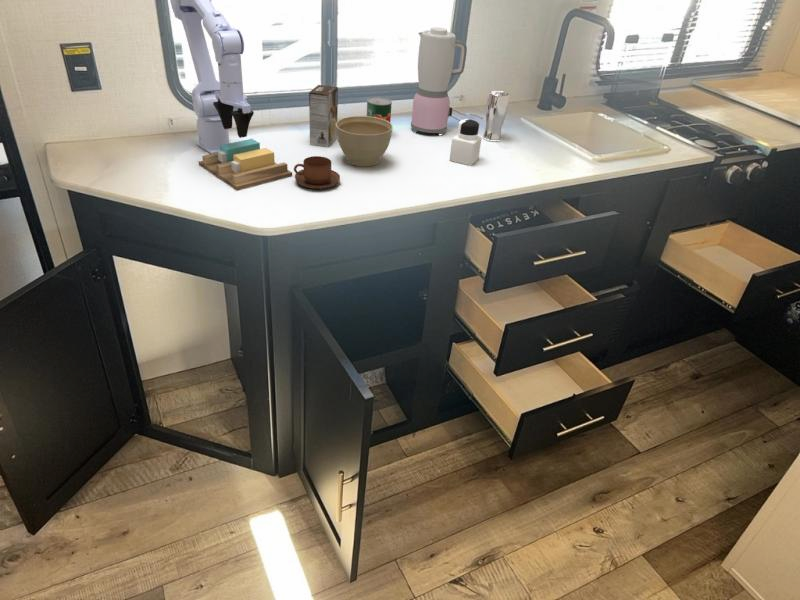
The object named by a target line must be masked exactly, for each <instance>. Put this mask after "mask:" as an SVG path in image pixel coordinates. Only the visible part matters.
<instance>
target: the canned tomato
mask: <svg viewBox="0 0 800 600" xmlns="http://www.w3.org/2000/svg"><path fill="white" fill-rule="evenodd" d="M392 103H393V102H392V100H391V99H389V98H387V97H378V96H377V97H369V98H367V99H366V116H369V117H376V118H380V119H383V120H386V121H388V122H390V123H391V118H392V117H391V115H392V105H393V104H392Z"/></svg>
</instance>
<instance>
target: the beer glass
mask: <svg viewBox="0 0 800 600" xmlns="http://www.w3.org/2000/svg"><path fill="white" fill-rule="evenodd" d="M509 101H510V93H508V92H507V91H503V90H496V89H495V90H489V92H488V97H487V101H486V107H485V129H484V133H483V135H482V138H483V137H484V138H486V139H489V140H500V139H501V140H502V129H503V125H504V122H505V118H506V116H507V112H508V107H509ZM484 138H483V139H484ZM501 140H500V141H501Z"/></svg>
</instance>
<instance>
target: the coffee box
mask: <svg viewBox="0 0 800 600" xmlns="http://www.w3.org/2000/svg"><path fill="white" fill-rule="evenodd" d="M338 89H339V88H338V86H332V85H331V86H330V85H324V84H317V86H315V87H314V88H313V89H311V90H310V91H308V98H309V99H308V100H309V101H308V102H309V104H308V105H309V106H308V107H309V108H308V111H309V112H308V113H309V118H308V119H309V145H311V146H318V147H324V148H329V147H331V145H332V144H334V142H335V141H336V140H338V138H337V129H336V123H337V121H338V113H339V112H338V110H339V109H338V105H339V104H338V103H339V102H338V101H339V98H338V97H339V96H338V94H339V93H338V92H339V90H338Z"/></svg>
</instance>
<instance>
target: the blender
mask: <svg viewBox="0 0 800 600" xmlns="http://www.w3.org/2000/svg"><path fill="white" fill-rule="evenodd" d="M418 35H419V37H420V40H419V46H418V55H417V56H418V58H417V79H418V81H417V82H418V88H417V91H416V93H415V95H414V97H413V102H412V110H411V111H412V113H411V121H410V126H411V129H412V132H413V131H414V132H417V133H418V132H421V133H430V134H437V135H438V134H443V135H444V133H445V132H446V131H447V129H448V120H449V117H452V114H453V107H451V106H450V104H451V101H450V98H449V97H450V96H449V95H448V94H449V93H448V87H449V85H450V84H449V83H450V81H451V80H450V79H451V76H454V75H456V76H458V75H461V74H463V73H464V70H465V67H466V66H465V65H466V60H467V59H466V58H467V54H468V53H467V52H468V51H467V50H468V47H467V45H466V43H465V42H464V41H463V40H458V39H457V37H456V35H455V34H454V33H453V32H450V31H448V29H447V28H444V27H431V28H430V30H423V31H422V32H418ZM456 47H459V48H460V49H461V51H460V52H461V53H460V57H459V58H460V61H459V65H458V68H455V69H453V68H454V61H455V60H454V59H455V51H456ZM414 132H413V133H414Z"/></svg>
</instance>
